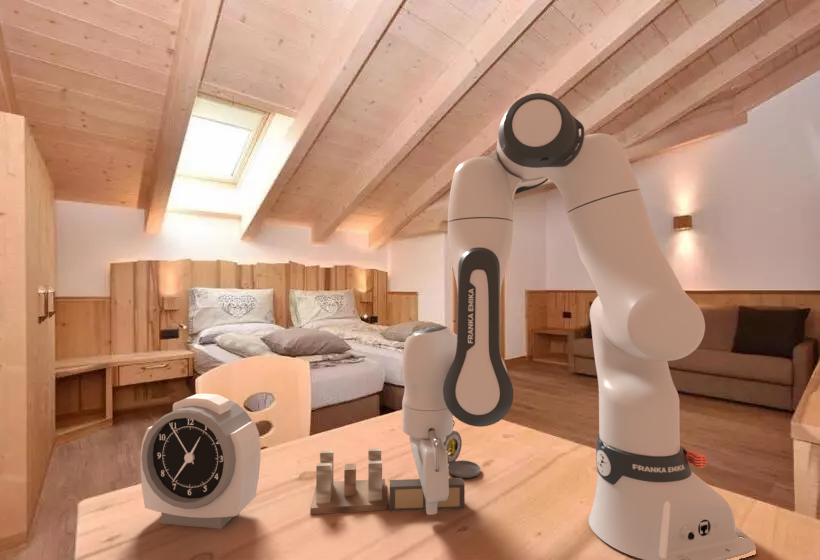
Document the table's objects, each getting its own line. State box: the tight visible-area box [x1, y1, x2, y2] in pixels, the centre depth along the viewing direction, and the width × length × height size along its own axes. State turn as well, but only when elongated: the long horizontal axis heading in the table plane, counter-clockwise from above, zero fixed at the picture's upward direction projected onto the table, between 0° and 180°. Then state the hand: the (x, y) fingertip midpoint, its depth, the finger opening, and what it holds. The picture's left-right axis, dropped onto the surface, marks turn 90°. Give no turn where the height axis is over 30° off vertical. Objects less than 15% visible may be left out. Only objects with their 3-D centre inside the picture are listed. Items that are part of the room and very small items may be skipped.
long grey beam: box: [389, 477, 466, 512], centre depth 71 cm, size 13×2×4 cm, turn 94°
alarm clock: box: [139, 393, 261, 530], centre depth 67 cm, size 18×8×20 cm, turn 82°
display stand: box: [309, 448, 388, 515], centre depth 73 cm, size 13×9×8 cm
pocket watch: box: [443, 419, 481, 479], centre depth 84 cm, size 8×8×10 cm
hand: (427, 499), depth 70 cm, fingers open, 6 cm apart
